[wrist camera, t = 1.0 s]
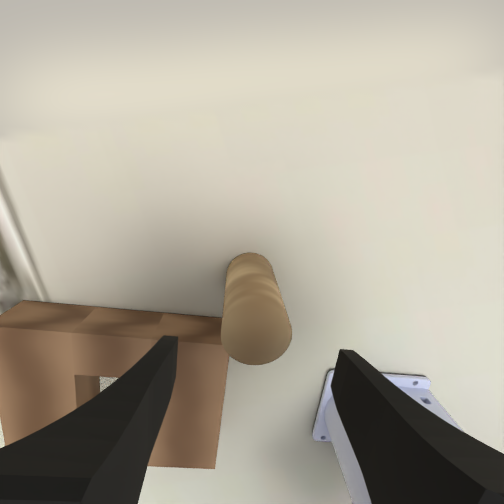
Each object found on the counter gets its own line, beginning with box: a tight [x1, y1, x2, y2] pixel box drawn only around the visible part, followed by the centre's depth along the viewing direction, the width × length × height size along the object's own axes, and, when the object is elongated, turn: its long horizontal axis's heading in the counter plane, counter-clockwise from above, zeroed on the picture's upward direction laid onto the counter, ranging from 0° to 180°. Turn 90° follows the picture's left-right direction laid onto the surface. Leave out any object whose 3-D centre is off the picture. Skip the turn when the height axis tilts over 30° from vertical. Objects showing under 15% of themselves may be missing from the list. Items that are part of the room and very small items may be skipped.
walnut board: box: [0, 300, 229, 469], centre depth 22 cm, size 16×12×4 cm
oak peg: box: [221, 253, 292, 365], centre depth 18 cm, size 4×4×8 cm
